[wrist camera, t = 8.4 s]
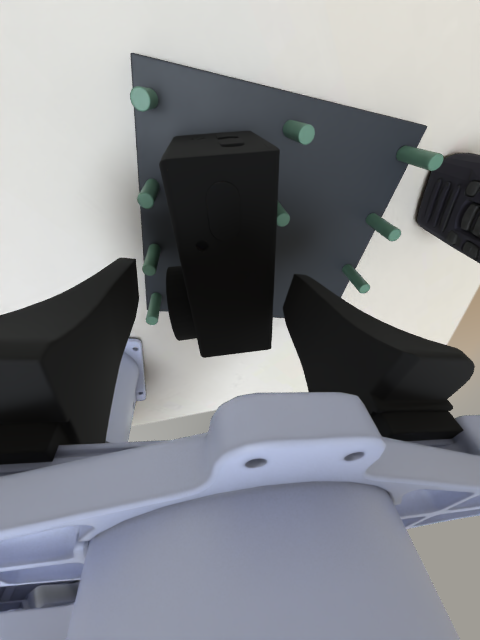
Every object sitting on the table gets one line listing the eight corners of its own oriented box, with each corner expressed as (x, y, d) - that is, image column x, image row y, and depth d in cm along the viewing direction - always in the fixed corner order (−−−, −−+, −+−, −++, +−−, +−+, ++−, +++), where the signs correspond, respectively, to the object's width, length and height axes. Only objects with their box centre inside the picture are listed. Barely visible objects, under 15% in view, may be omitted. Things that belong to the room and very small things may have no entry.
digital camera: (149, 135, 14) (119, 158, 9) (249, 127, 14) (281, 146, 9) (185, 294, 21) (181, 362, 15) (252, 287, 21) (271, 350, 16)
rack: (325, 314, 25) (342, 343, 22) (148, 303, 22) (141, 336, 19) (417, 124, 16) (468, 131, 13) (134, 54, 13) (114, 42, 10)
